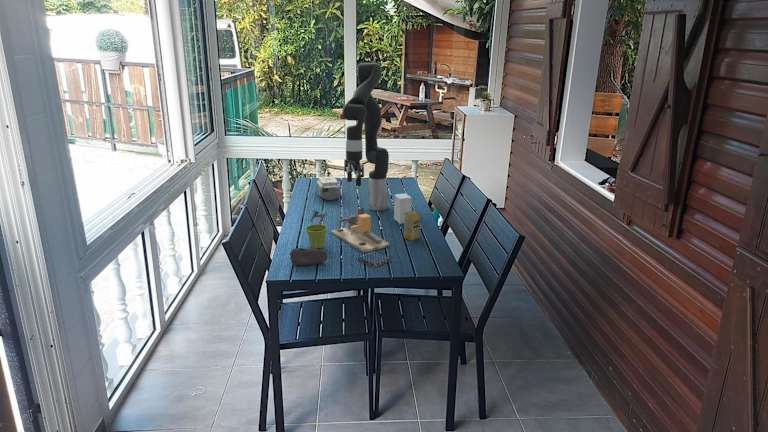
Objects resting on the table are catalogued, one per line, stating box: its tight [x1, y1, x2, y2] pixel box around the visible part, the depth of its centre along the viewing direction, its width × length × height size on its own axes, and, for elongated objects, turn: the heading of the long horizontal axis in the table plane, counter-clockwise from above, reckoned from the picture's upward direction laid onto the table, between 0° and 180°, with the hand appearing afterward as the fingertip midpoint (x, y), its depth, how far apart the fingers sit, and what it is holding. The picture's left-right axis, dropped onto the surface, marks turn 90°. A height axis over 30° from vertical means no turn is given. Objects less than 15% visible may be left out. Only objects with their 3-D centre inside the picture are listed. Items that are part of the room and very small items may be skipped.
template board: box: [331, 214, 391, 254], centre depth 230 cm, size 14×28×7 cm, turn 34°
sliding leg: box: [350, 213, 372, 235], centre depth 231 cm, size 9×4×8 cm, turn 124°
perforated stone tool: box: [289, 247, 329, 267], centre depth 205 cm, size 15×5×7 cm, turn 100°
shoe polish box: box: [403, 210, 421, 241], centre depth 232 cm, size 5×5×12 cm
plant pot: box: [305, 223, 328, 249], centre depth 222 cm, size 9×9×9 cm
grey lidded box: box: [316, 175, 341, 201], centre depth 294 cm, size 12×28×10 cm, turn 14°
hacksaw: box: [309, 210, 328, 225], centre depth 256 cm, size 24×10×2 cm, turn 177°
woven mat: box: [357, 250, 392, 268], centre depth 210 cm, size 10×11×2 cm
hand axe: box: [345, 207, 365, 227], centre depth 260 cm, size 27×2×10 cm
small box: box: [393, 193, 413, 225], centre depth 254 cm, size 8×6×13 cm
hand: (353, 183), depth 237 cm, fingers open, 8 cm apart
